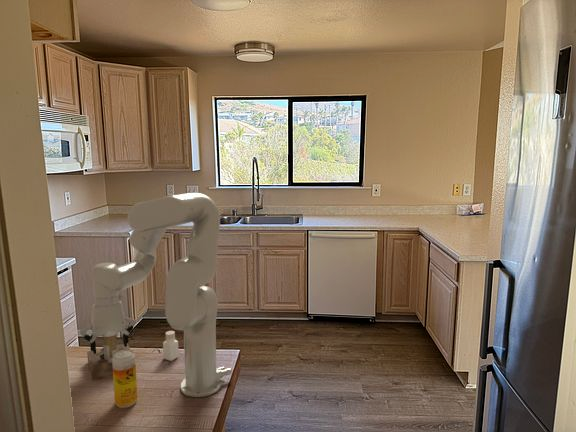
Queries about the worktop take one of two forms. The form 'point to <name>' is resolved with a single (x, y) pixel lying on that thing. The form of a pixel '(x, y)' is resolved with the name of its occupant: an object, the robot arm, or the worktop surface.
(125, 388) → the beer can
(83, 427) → the worktop surface
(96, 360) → the open brown cardboard box
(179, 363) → the worktop surface
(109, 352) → the sprinkles bottle
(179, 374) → the worktop surface
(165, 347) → the pepper shaker
